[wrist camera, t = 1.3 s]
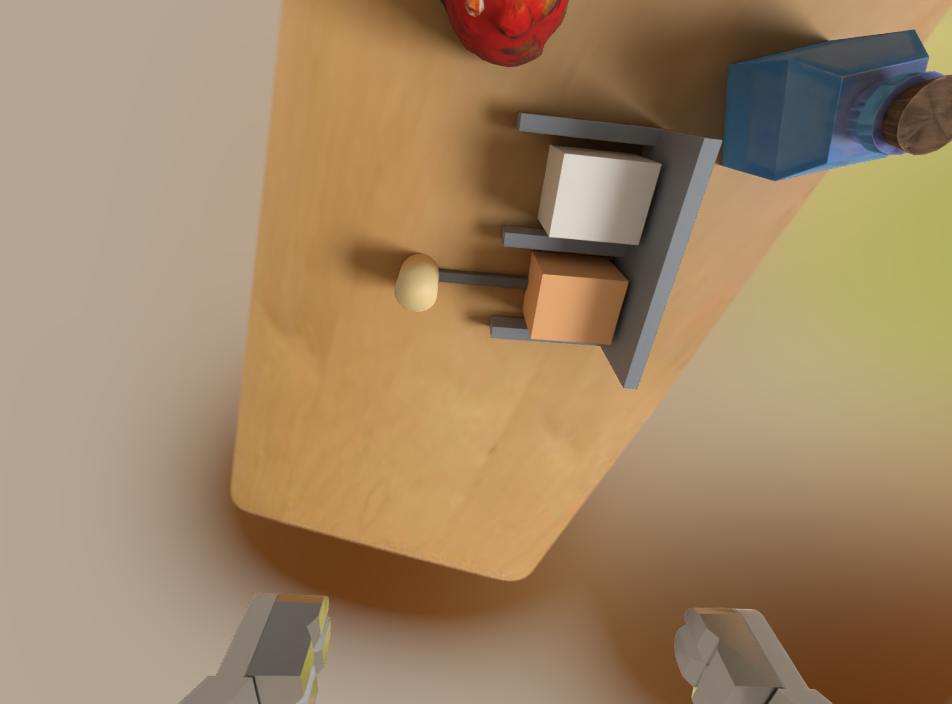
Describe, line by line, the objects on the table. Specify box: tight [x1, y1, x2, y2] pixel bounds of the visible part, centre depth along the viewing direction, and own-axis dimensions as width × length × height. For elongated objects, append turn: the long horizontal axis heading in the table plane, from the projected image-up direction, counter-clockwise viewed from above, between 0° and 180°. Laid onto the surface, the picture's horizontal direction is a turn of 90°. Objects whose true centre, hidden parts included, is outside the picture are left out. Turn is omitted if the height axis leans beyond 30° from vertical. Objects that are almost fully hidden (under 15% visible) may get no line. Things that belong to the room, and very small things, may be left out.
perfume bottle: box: [722, 30, 952, 181], centre depth 25 cm, size 6×6×12 cm
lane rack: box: [490, 112, 723, 389], centre depth 31 cm, size 16×10×8 cm, turn 174°
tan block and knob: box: [394, 251, 629, 345], centre depth 33 cm, size 5×16×5 cm, turn 84°
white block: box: [538, 145, 662, 245], centre depth 30 cm, size 5×6×5 cm
